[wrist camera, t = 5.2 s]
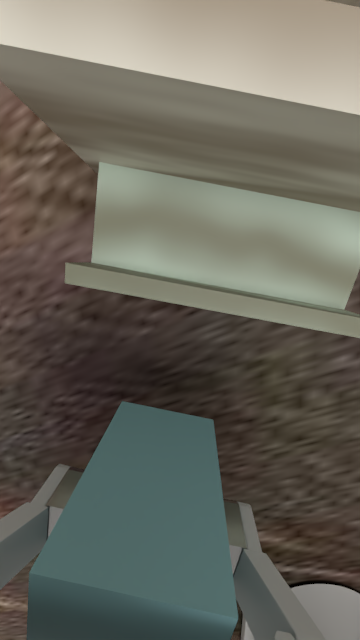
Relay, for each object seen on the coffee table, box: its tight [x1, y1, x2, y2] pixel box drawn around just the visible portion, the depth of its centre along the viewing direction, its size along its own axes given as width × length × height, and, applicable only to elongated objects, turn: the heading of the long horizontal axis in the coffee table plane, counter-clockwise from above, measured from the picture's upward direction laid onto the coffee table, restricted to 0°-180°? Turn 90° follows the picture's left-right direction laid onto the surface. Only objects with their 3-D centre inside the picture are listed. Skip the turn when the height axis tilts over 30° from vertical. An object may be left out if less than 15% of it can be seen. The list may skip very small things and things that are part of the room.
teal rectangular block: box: [27, 401, 238, 640], centre depth 9 cm, size 4×5×7 cm
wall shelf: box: [0, 0, 360, 338], centre depth 12 cm, size 8×18×12 cm, turn 80°
